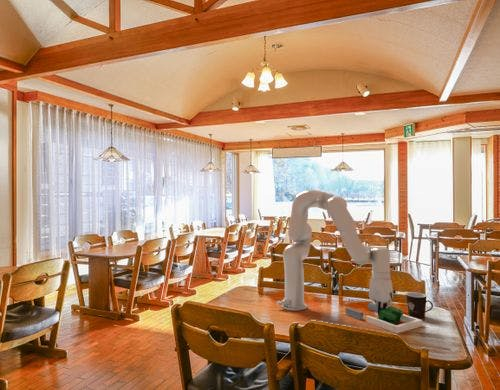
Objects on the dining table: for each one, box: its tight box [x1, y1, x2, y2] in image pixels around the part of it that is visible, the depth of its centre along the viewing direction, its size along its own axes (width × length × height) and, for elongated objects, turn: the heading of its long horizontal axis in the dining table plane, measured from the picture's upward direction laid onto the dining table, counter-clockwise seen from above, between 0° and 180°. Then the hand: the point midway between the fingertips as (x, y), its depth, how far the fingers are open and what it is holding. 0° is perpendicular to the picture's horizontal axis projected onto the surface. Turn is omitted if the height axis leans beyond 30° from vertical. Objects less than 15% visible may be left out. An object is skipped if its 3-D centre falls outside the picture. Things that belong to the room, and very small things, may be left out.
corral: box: [365, 313, 423, 334], centre depth 157 cm, size 16×16×2 cm
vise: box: [345, 302, 391, 321], centre depth 172 cm, size 23×9×3 cm, turn 120°
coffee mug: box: [405, 291, 434, 320], centre depth 165 cm, size 12×9×10 cm
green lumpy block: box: [377, 305, 404, 325], centre depth 158 cm, size 12×6×9 cm, turn 128°
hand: (381, 316), depth 163 cm, fingers closed
